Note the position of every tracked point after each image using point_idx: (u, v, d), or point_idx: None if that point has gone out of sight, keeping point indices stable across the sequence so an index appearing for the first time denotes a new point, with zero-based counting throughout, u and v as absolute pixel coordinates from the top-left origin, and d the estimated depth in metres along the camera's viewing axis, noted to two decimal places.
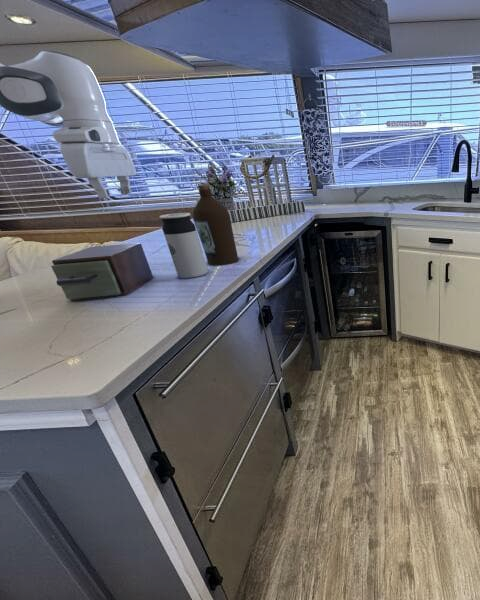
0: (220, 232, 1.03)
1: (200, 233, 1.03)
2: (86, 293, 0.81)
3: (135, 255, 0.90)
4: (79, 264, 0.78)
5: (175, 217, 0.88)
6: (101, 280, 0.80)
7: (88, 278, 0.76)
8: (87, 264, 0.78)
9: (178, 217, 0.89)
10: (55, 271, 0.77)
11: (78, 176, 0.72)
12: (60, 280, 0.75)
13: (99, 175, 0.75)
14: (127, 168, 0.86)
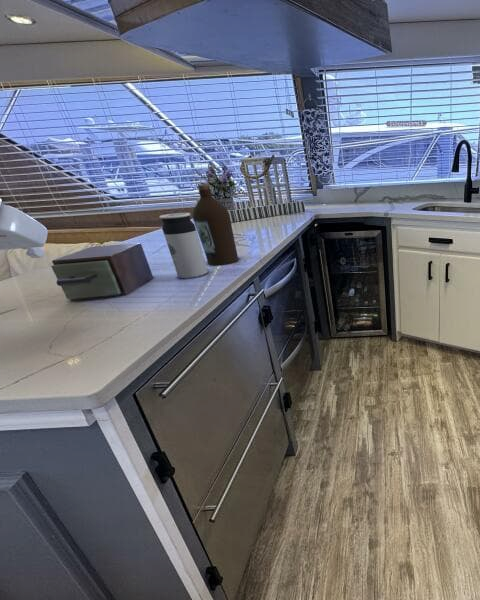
0: (220, 232, 1.03)
1: (200, 233, 1.03)
2: (86, 293, 0.81)
3: (135, 255, 0.90)
4: (79, 264, 0.78)
5: (175, 217, 0.88)
6: (101, 280, 0.80)
7: (88, 278, 0.76)
8: (87, 264, 0.78)
9: (178, 217, 0.89)
10: (55, 271, 0.77)
11: (45, 241, 0.59)
12: (60, 280, 0.75)
13: None
14: None
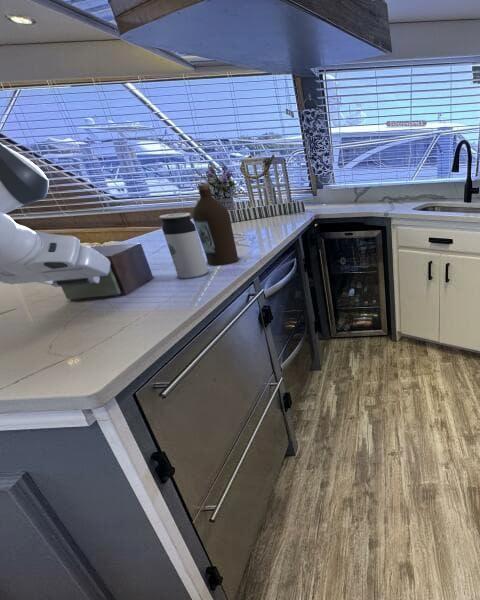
0: (220, 232, 1.03)
1: (200, 233, 1.03)
2: (86, 293, 0.81)
3: (135, 255, 0.90)
4: None
5: (175, 217, 0.88)
6: (101, 280, 0.80)
7: None
8: None
9: (178, 217, 0.89)
10: None
11: None
12: (60, 280, 0.75)
13: None
14: None
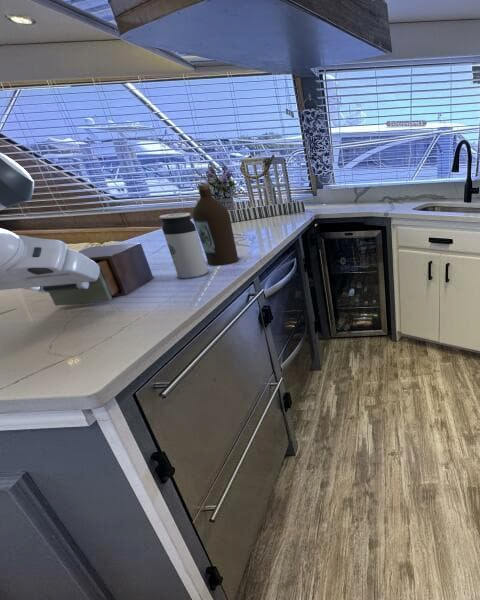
0: (220, 232, 1.03)
1: (200, 233, 1.03)
2: (75, 299, 0.77)
3: (135, 255, 0.90)
4: None
5: (175, 217, 0.88)
6: (91, 286, 0.77)
7: None
8: None
9: (178, 217, 0.89)
10: None
11: (98, 276, 0.70)
12: (47, 286, 0.71)
13: None
14: None
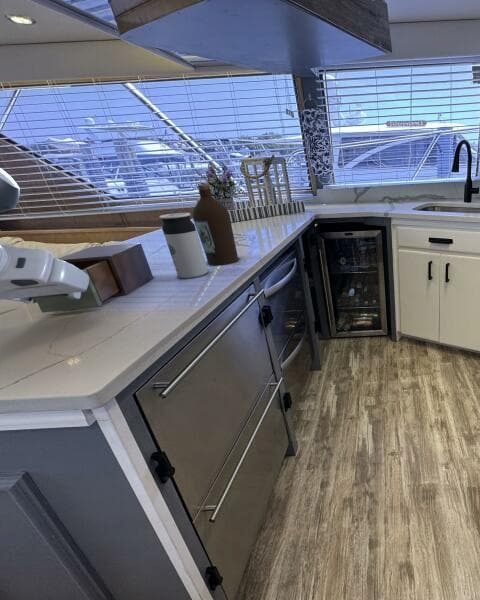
0: (220, 232, 1.03)
1: (200, 233, 1.03)
2: (63, 305, 0.73)
3: (135, 255, 0.90)
4: None
5: (175, 217, 0.88)
6: None
7: None
8: None
9: (178, 217, 0.89)
10: None
11: (87, 286, 0.67)
12: None
13: None
14: None
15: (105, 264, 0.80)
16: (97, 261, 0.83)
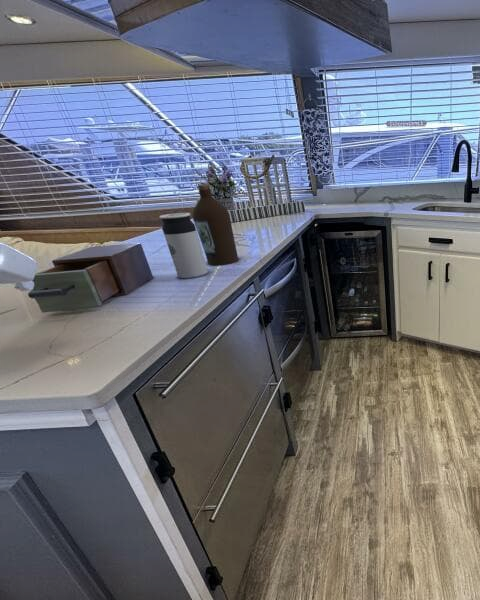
0: (220, 232, 1.03)
1: (200, 233, 1.03)
2: (63, 305, 0.73)
3: (135, 255, 0.90)
4: (54, 274, 0.71)
5: (175, 217, 0.88)
6: (79, 292, 0.73)
7: (64, 290, 0.69)
8: (63, 274, 0.71)
9: (178, 217, 0.89)
10: None
11: (34, 275, 0.56)
12: (32, 292, 0.68)
13: None
14: None
15: (105, 264, 0.80)
16: (97, 261, 0.83)
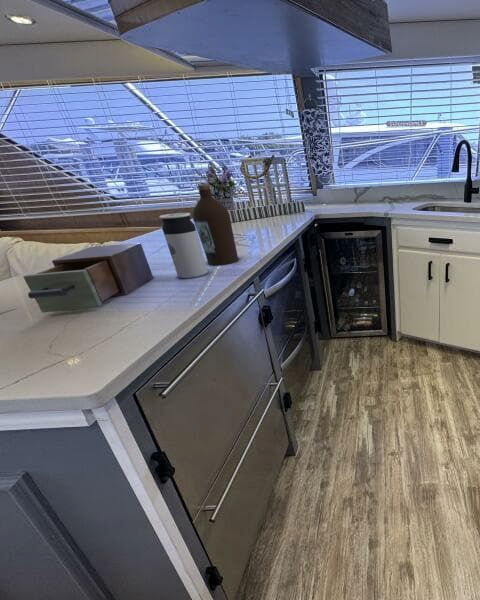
0: (220, 232, 1.03)
1: (200, 233, 1.03)
2: (63, 305, 0.73)
3: (135, 255, 0.90)
4: (54, 274, 0.71)
5: (175, 217, 0.88)
6: (79, 292, 0.73)
7: (64, 290, 0.69)
8: (63, 274, 0.71)
9: (178, 217, 0.89)
10: (28, 282, 0.70)
11: None
12: (32, 292, 0.68)
13: None
14: None
15: (105, 264, 0.80)
16: (97, 261, 0.83)
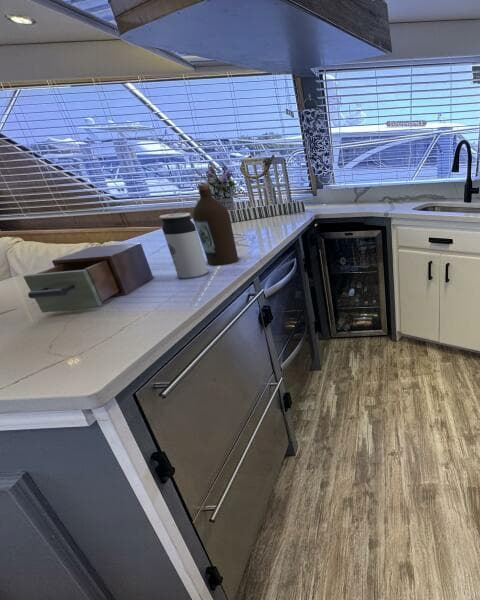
0: (220, 232, 1.03)
1: (200, 233, 1.03)
2: (63, 305, 0.73)
3: (135, 255, 0.90)
4: (54, 274, 0.71)
5: (175, 217, 0.88)
6: (79, 292, 0.73)
7: (64, 290, 0.69)
8: (63, 274, 0.71)
9: (178, 217, 0.89)
10: (28, 282, 0.70)
11: None
12: (32, 292, 0.68)
13: None
14: None
15: (105, 264, 0.80)
16: (97, 261, 0.83)
